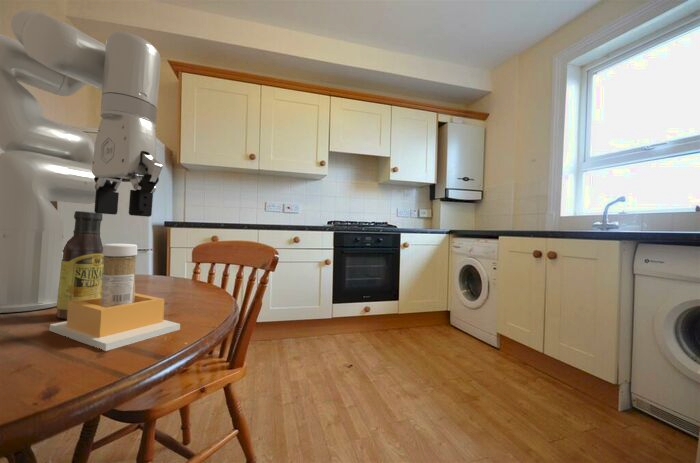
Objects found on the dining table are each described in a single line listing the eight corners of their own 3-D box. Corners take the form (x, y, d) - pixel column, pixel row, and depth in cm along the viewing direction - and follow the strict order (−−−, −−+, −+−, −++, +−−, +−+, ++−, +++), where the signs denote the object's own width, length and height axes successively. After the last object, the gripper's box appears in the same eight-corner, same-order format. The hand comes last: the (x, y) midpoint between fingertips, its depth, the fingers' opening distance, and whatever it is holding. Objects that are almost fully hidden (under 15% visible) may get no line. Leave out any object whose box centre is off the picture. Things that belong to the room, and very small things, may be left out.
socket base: (49, 330, 47) (51, 299, 47) (124, 315, 57) (126, 289, 57) (105, 351, 41) (107, 315, 41) (179, 329, 51) (181, 300, 51)
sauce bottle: (73, 322, 52) (80, 210, 52) (46, 318, 53) (53, 209, 53) (110, 313, 58) (116, 213, 59) (85, 310, 59) (91, 212, 60)
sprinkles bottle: (134, 318, 52) (138, 243, 52) (131, 326, 48) (136, 245, 48) (101, 321, 50) (105, 242, 50) (95, 329, 46) (100, 244, 46)
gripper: (75, 110, 50) (67, 211, 50) (137, 97, 43) (128, 214, 42) (124, 126, 57) (117, 214, 56) (184, 117, 49) (177, 218, 49)
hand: (122, 214), depth 49 cm, fingers open, 9 cm apart
